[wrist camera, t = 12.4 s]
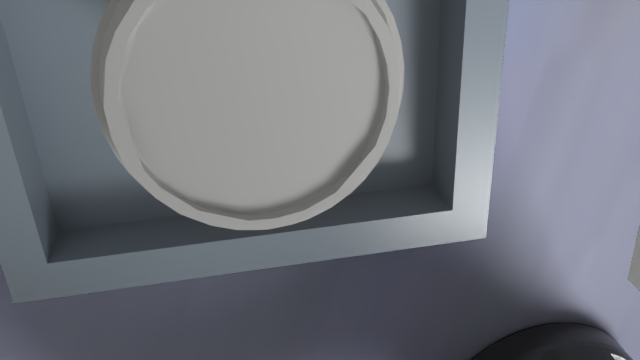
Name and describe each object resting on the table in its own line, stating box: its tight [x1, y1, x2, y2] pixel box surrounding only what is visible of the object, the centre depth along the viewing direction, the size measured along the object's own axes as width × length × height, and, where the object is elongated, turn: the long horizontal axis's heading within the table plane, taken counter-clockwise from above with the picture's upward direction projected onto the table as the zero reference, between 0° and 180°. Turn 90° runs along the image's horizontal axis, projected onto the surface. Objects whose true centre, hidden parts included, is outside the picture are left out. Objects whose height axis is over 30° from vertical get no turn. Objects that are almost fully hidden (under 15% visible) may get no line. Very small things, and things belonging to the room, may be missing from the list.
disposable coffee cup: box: [90, 0, 404, 230], centre depth 23 cm, size 10×10×12 cm
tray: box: [0, 0, 509, 304], centre depth 27 cm, size 24×24×4 cm
